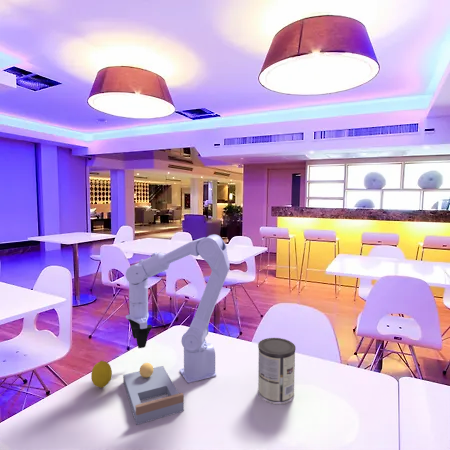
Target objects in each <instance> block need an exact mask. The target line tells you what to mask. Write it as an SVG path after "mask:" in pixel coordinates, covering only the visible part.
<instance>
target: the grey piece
mask: <svg viewBox="0 0 450 450" xmlns="http://www.w3.org/2000/svg"><path fill="white" fill-rule="evenodd" d="M122 377H123V380H122V381H123V385H124V389H125V391H126V395H127V400H128V401H129V404H130V407H131V411H132V415H133V417H134V421H135V424H136V425H142V424H144V423H147V422H151V421H155V420H158V419H161V418H165V417H167V416H171V415H174V414H177V413H182V412H184V410H185V408H184V407H185V404H184V403H185V402H184V401H185V399H184V397H185V395H184V393H183V392H179V391H178V389H177V388H176V386H175V384H174V383H173V381H172V379H171V378H170V375H169V374H168V372H167V370H166V369H165V367H164V365H161V366H156V367H153V373H152V375H151V376H150V377H147V378H144V377H142V376H141V375H140V370H138V371H134V372H130V373H126V374H123V375H122ZM165 395H166V397H162V398H157V397H160V396H165ZM152 398H157V399H153V400H150V401H147V402H142V401H145V400H149V399H152Z"/></svg>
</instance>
